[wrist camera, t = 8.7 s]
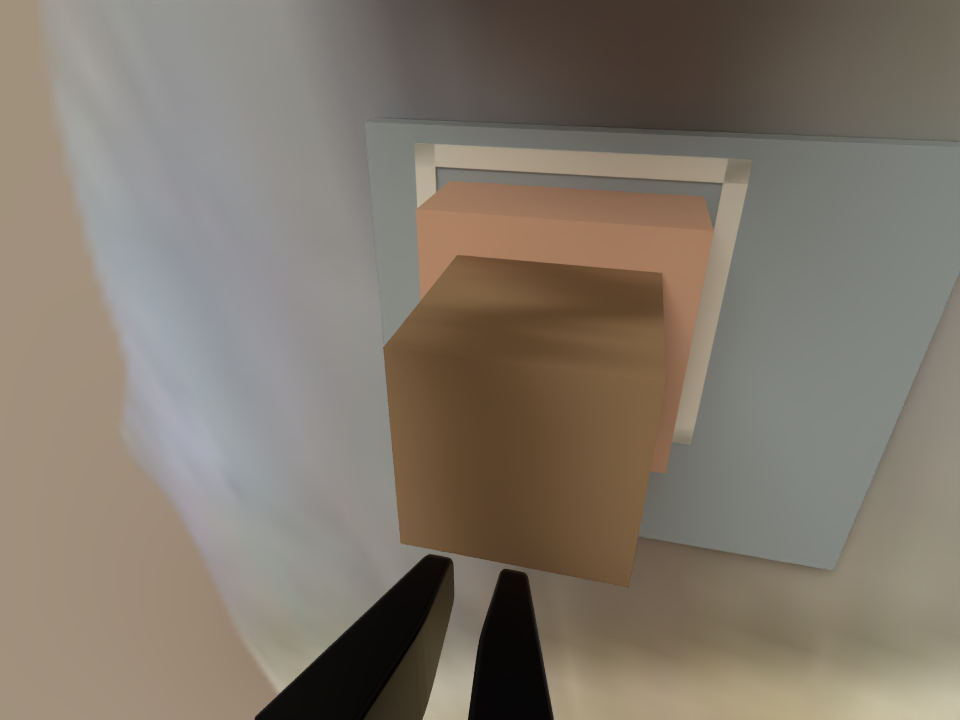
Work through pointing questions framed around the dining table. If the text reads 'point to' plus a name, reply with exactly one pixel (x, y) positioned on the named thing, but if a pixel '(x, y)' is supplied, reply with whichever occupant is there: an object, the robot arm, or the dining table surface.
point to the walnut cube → (528, 414)
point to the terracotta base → (582, 250)
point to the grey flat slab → (738, 302)
